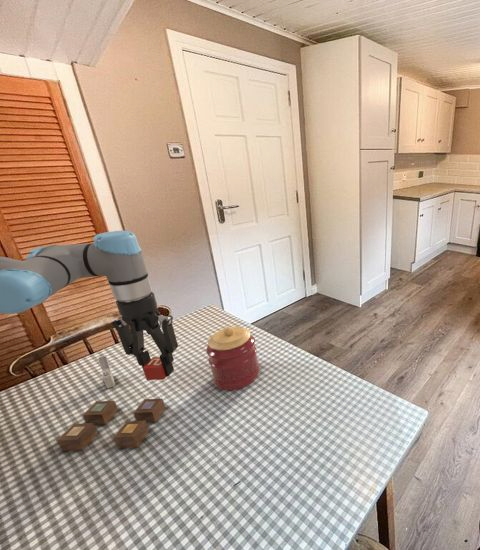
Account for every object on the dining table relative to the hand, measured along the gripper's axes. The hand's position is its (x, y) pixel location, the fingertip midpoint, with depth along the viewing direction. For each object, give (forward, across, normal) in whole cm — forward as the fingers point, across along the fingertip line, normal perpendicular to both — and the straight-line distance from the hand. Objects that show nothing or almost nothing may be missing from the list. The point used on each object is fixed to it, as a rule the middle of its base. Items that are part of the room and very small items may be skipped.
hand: (160, 373), depth 81 cm
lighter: (+8, +20, -7) cm, 23 cm away
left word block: (+8, +12, +7) cm, 16 cm away
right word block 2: (+8, 0, +7) cm, 11 cm away
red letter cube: (0, 0, 0) cm, 0 cm away
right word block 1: (+8, 0, +14) cm, 16 cm away
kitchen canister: (+8, -17, -7) cm, 20 cm away
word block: (+8, +12, +14) cm, 20 cm away
